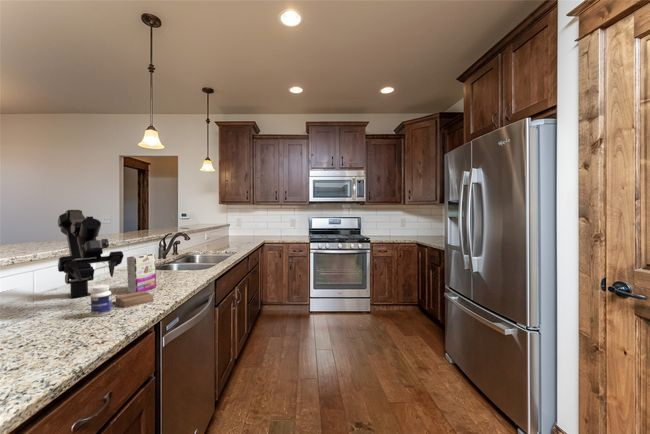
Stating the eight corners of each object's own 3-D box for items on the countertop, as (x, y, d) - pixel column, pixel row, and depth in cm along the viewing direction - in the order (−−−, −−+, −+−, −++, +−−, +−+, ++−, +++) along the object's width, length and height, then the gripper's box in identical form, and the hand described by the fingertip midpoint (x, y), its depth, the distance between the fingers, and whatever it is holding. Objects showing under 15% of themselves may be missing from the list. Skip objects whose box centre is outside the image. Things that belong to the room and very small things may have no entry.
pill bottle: (89, 318, 96) (88, 289, 96) (93, 312, 101) (93, 285, 101) (109, 315, 98) (109, 287, 98) (113, 310, 104) (112, 283, 103)
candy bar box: (147, 286, 135) (147, 253, 135) (156, 287, 134) (156, 253, 134) (126, 293, 124) (126, 256, 124) (136, 294, 123) (135, 257, 123)
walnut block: (115, 302, 112) (115, 296, 112) (143, 296, 120) (143, 290, 120) (124, 307, 106) (123, 301, 106) (153, 301, 114) (153, 295, 114)
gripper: (58, 234, 98) (65, 269, 92) (121, 231, 113) (131, 261, 106) (55, 254, 103) (61, 289, 97) (115, 248, 118) (125, 278, 111)
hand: (97, 278), depth 103 cm, fingers open, 9 cm apart
